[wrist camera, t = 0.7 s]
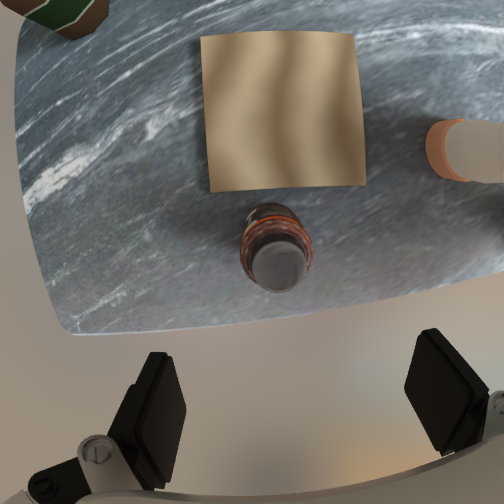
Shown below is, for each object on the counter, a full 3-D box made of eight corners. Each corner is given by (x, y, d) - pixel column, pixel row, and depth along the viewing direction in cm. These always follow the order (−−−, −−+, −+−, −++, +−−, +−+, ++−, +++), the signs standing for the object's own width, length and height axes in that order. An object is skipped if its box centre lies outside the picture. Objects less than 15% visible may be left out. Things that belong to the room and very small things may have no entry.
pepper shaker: (436, 187, 30) (560, 225, 12) (416, 129, 28) (546, 122, 10) (474, 168, 29) (591, 193, 11) (457, 114, 27) (577, 107, 9)
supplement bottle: (234, 215, 31) (222, 245, 21) (286, 193, 31) (303, 212, 20) (256, 264, 33) (257, 316, 22) (307, 244, 32) (331, 286, 21)
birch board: (349, 38, 25) (352, 34, 24) (362, 184, 30) (366, 185, 29) (202, 40, 25) (200, 36, 24) (212, 191, 31) (210, 192, 29)
